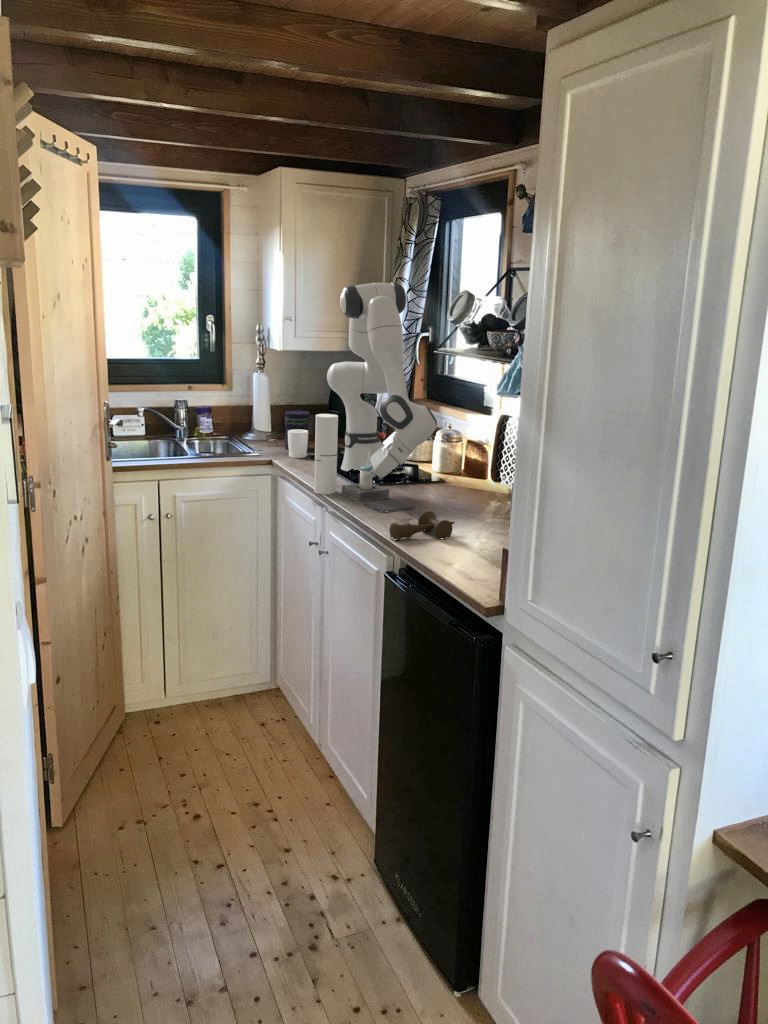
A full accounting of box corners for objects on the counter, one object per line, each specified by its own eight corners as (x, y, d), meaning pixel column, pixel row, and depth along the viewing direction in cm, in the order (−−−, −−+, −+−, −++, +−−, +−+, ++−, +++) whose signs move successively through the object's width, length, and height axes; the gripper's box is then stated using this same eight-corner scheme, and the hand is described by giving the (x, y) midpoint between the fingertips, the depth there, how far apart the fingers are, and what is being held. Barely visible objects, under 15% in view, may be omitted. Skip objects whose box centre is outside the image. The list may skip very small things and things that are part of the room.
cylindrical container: (333, 495, 270) (334, 417, 263) (311, 493, 271) (312, 416, 265) (338, 490, 277) (340, 414, 270) (317, 488, 278) (319, 413, 272)
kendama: (383, 537, 229) (444, 527, 239) (401, 548, 221) (463, 537, 231) (384, 516, 227) (445, 507, 237) (402, 527, 220) (465, 517, 229)
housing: (370, 490, 277) (370, 482, 277) (388, 498, 269) (389, 489, 268) (341, 494, 271) (342, 485, 271) (359, 502, 263) (360, 492, 262)
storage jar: (281, 447, 344) (281, 410, 340) (303, 445, 349) (303, 410, 345) (290, 451, 336) (290, 414, 332) (312, 450, 340) (313, 413, 336)
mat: (396, 500, 266) (396, 499, 266) (414, 508, 258) (414, 506, 258) (364, 505, 260) (364, 503, 259) (382, 512, 252) (382, 510, 251)
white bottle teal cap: (367, 491, 272) (368, 465, 270) (374, 493, 269) (375, 468, 267) (357, 492, 270) (357, 466, 268) (363, 495, 267) (364, 469, 264)
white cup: (283, 455, 328) (283, 430, 325) (300, 453, 333) (300, 428, 330) (295, 459, 322) (295, 433, 319) (311, 457, 327) (312, 431, 324)
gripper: (386, 435, 275) (355, 464, 277) (392, 447, 256) (359, 478, 258) (399, 449, 277) (368, 477, 279) (405, 462, 257) (373, 492, 259)
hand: (364, 478), depth 268 cm, fingers closed on white bottle teal cap, 4 cm apart
